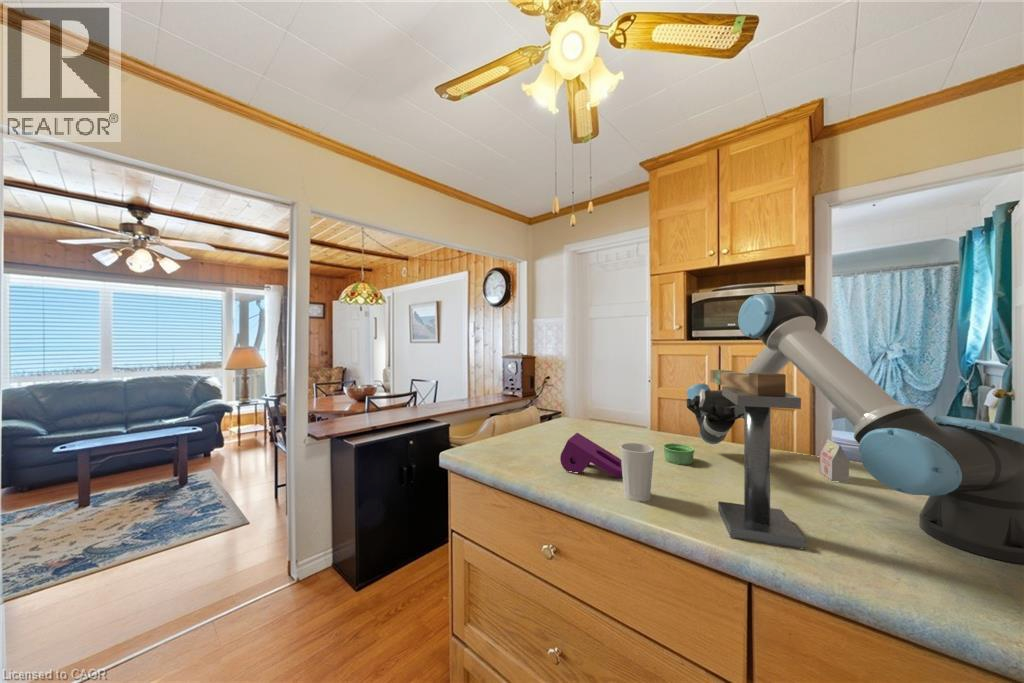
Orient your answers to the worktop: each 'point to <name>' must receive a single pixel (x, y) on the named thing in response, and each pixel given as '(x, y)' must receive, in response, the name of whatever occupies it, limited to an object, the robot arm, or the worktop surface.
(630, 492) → the cup
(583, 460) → the mounting bracket
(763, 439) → the charcoal stand
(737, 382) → the walnut bar
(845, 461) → the milk carton
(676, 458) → the ramekin
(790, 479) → the worktop surface
